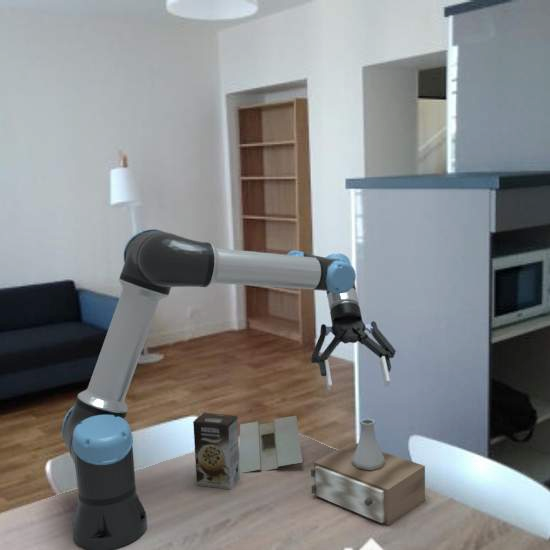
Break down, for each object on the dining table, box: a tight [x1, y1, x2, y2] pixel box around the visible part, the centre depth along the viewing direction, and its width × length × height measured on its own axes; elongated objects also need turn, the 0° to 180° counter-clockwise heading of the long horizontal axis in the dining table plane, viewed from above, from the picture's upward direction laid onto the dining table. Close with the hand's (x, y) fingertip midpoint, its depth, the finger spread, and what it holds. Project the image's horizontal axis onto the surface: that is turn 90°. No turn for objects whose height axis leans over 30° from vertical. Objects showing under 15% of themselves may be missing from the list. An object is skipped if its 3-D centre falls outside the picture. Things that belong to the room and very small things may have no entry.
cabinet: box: [310, 441, 426, 527], centre depth 145 cm, size 20×16×8 cm
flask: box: [351, 418, 386, 470], centre depth 144 cm, size 7×7×10 cm
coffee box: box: [192, 412, 241, 490], centre depth 155 cm, size 9×6×16 cm
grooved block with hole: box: [239, 415, 304, 474], centre depth 168 cm, size 16×9×15 cm
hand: (358, 385), depth 151 cm, fingers open, 13 cm apart
